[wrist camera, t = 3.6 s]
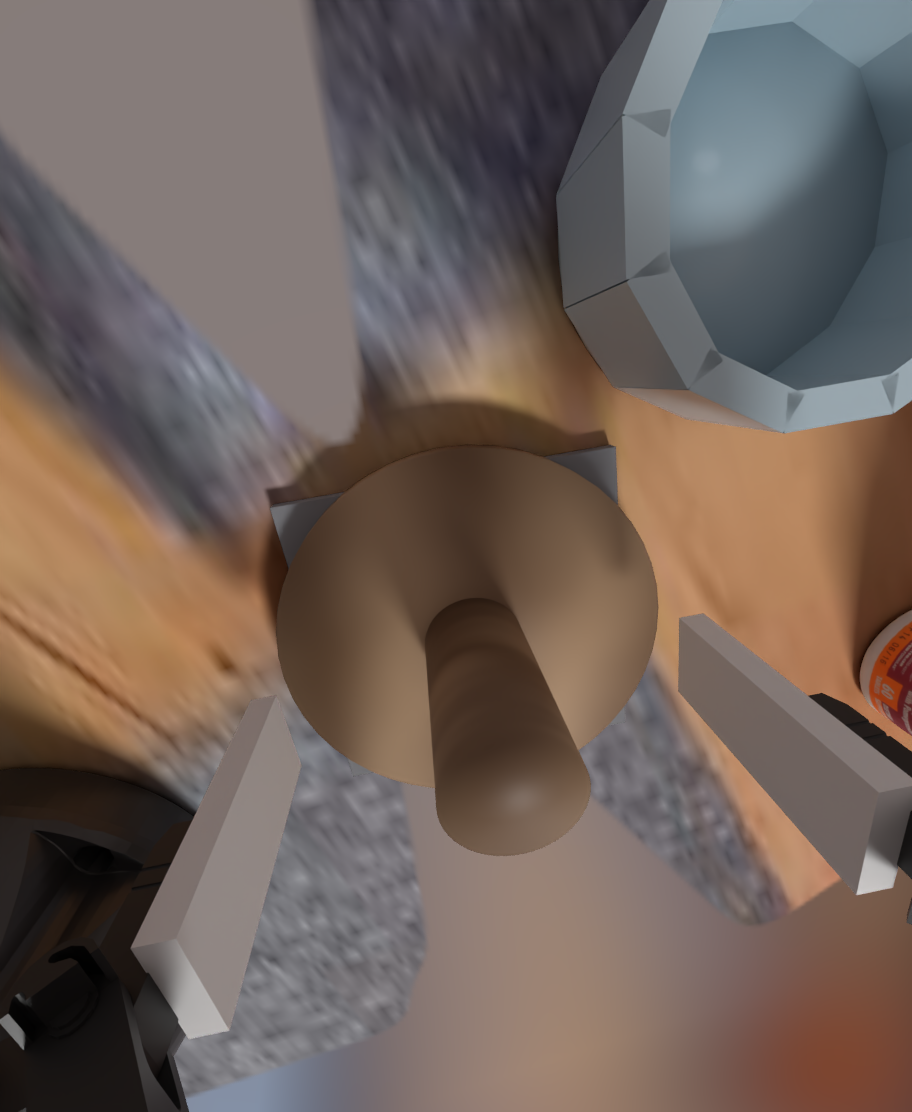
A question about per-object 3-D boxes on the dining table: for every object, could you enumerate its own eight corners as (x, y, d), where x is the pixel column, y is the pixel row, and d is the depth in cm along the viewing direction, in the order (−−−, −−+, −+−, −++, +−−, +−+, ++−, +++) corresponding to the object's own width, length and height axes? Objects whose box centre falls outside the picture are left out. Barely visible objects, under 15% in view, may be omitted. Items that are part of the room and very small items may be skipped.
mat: (354, 767, 21) (353, 776, 20) (273, 504, 16) (269, 508, 16) (620, 714, 21) (625, 722, 21) (610, 444, 17) (615, 446, 16)
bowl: (567, 437, 17) (630, 460, 12) (538, 23, 13) (614, -184, 8) (866, 385, 17) (1039, 387, 12) (927, -34, 13) (1216, -262, 8)
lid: (335, 798, 21) (295, 1035, 13) (230, 484, 16) (70, 580, 8) (647, 735, 21) (779, 930, 14) (643, 411, 16) (846, 439, 9)
